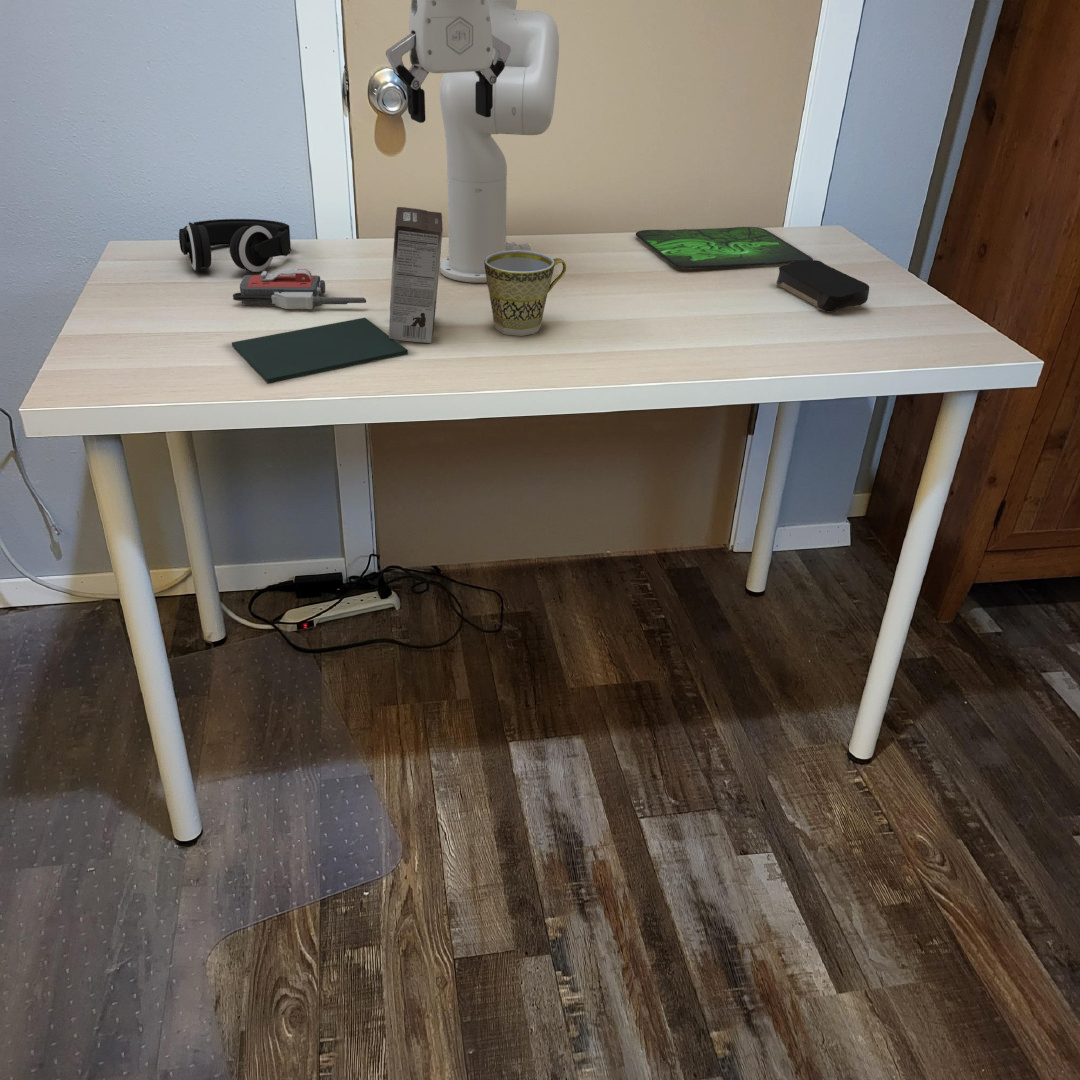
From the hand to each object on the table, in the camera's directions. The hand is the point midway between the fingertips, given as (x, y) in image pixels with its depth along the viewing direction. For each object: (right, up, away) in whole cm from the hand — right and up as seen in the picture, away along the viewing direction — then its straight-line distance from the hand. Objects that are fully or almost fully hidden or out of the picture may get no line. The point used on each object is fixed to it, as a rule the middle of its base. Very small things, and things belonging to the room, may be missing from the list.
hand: (451, 118), depth 130 cm
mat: (-19, -30, +5) cm, 35 cm away
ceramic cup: (+10, -24, +15) cm, 30 cm away
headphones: (-39, -9, +36) cm, 54 cm away
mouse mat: (+45, -3, +50) cm, 67 cm away
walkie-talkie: (-25, -20, +21) cm, 38 cm away
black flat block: (+57, -17, +30) cm, 67 cm away
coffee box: (-7, -26, +11) cm, 29 cm away
